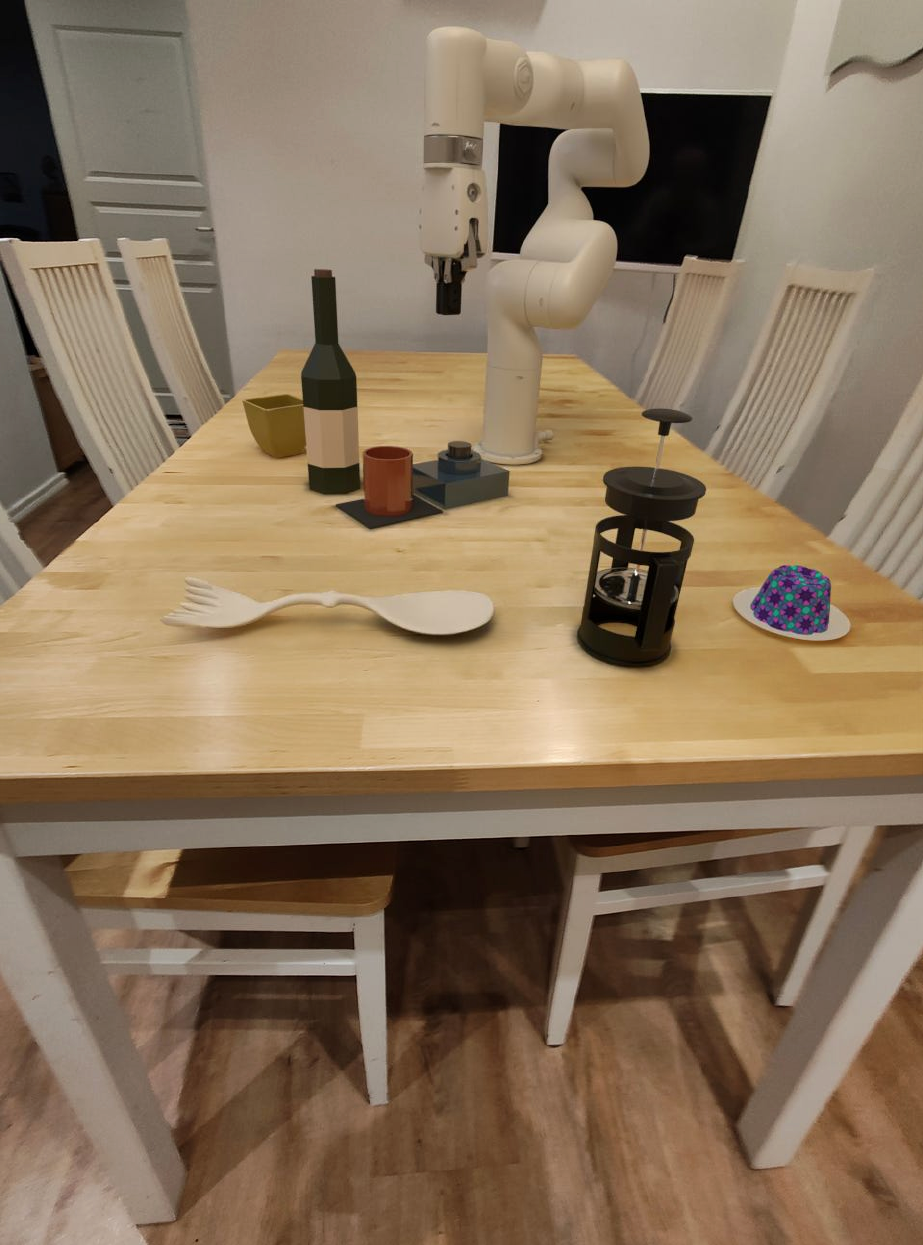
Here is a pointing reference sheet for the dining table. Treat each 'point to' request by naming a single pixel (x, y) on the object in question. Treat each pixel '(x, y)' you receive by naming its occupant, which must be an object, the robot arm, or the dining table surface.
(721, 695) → the dining table surface
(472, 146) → the robot arm
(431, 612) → the spoon
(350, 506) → the mat
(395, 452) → the cup
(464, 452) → the dark brown button
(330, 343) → the wine bottle
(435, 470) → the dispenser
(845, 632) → the purple patterned hat
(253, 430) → the flower pot
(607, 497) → the french press
